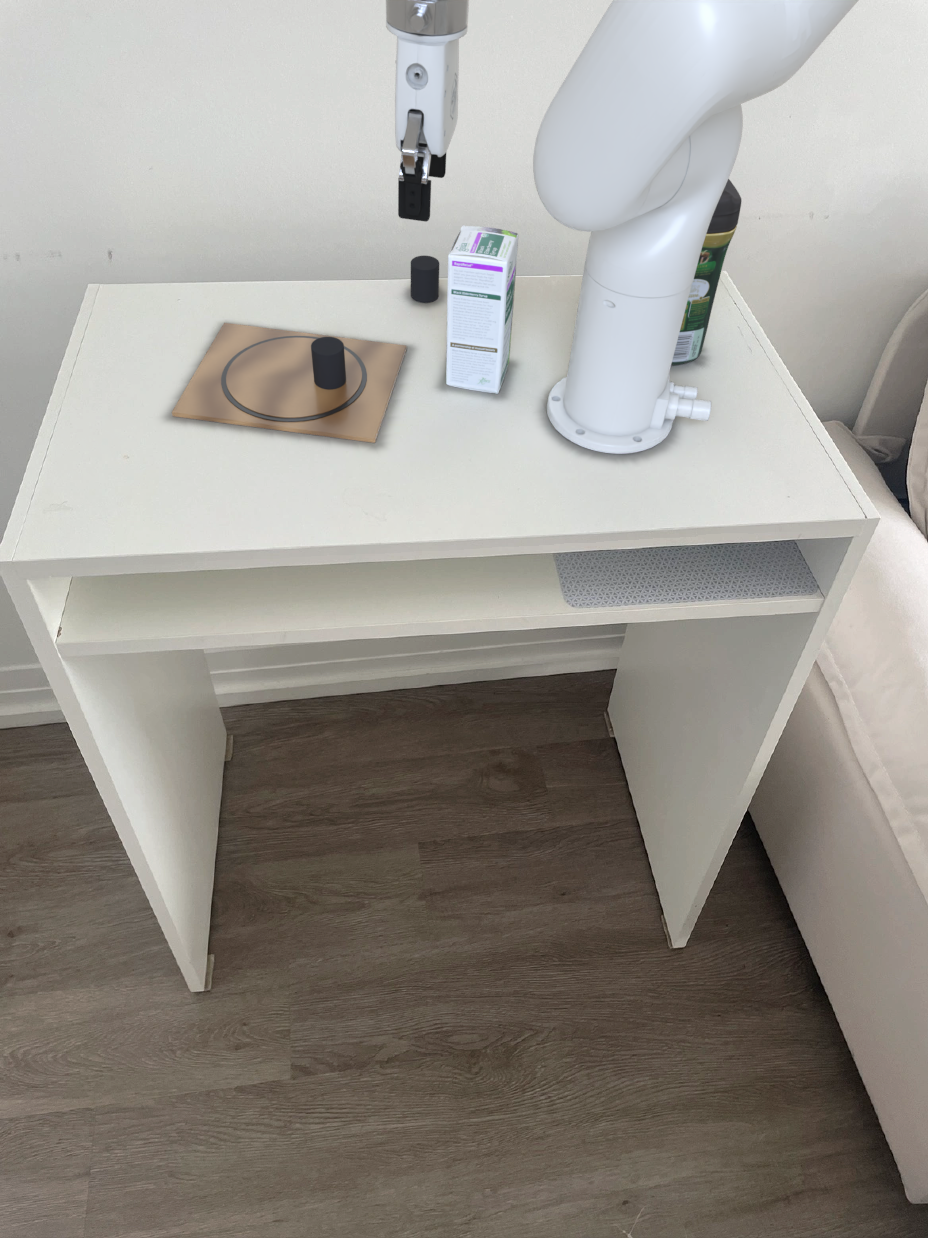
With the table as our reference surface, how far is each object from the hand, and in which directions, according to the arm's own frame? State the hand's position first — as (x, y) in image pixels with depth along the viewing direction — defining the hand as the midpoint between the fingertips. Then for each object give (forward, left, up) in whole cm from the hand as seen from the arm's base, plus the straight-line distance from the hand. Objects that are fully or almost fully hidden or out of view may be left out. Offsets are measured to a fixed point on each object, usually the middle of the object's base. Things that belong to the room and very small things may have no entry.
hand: (422, 196), depth 96 cm
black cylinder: (0, 0, -11) cm, 11 cm away
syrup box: (-8, +14, -11) cm, 20 cm away
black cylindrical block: (+6, +19, -11) cm, 23 cm away
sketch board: (+10, +19, -11) cm, 24 cm away
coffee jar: (-27, +4, -11) cm, 30 cm away
